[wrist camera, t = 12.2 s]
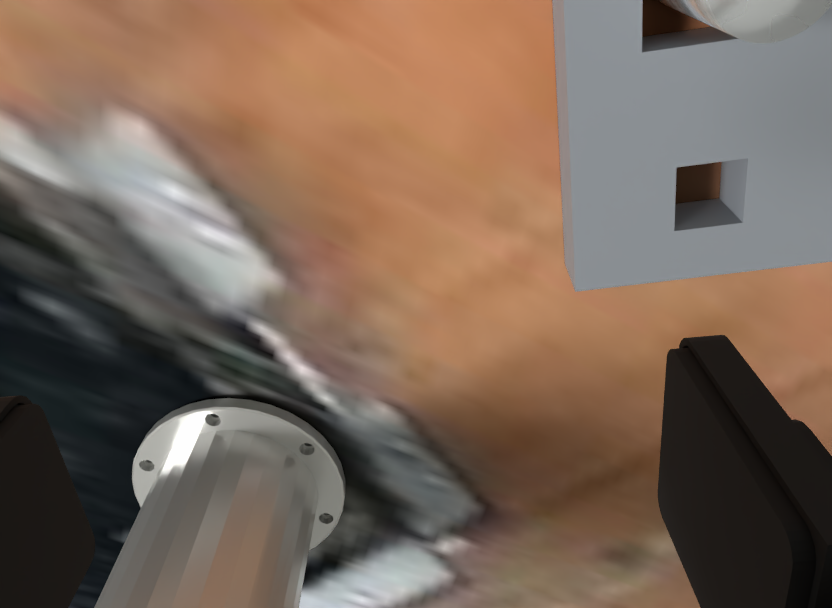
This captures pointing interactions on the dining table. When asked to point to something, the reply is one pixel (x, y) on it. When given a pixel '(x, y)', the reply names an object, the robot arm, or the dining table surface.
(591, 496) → the dining table surface
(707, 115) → the grey hole board
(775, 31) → the cylinder
